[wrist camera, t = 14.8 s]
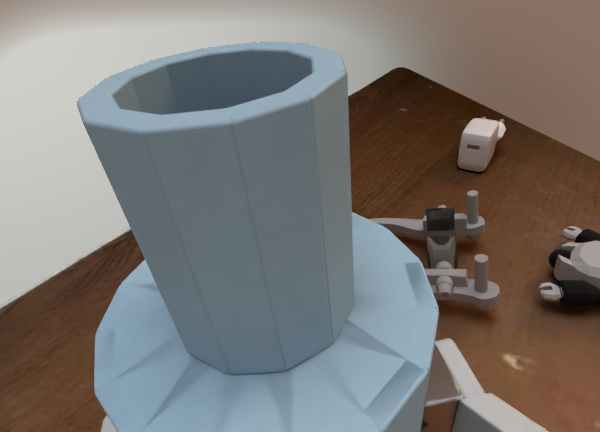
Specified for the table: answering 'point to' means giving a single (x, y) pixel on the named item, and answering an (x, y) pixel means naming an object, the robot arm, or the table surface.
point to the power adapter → (479, 143)
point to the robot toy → (575, 269)
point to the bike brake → (451, 252)
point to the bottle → (252, 254)
